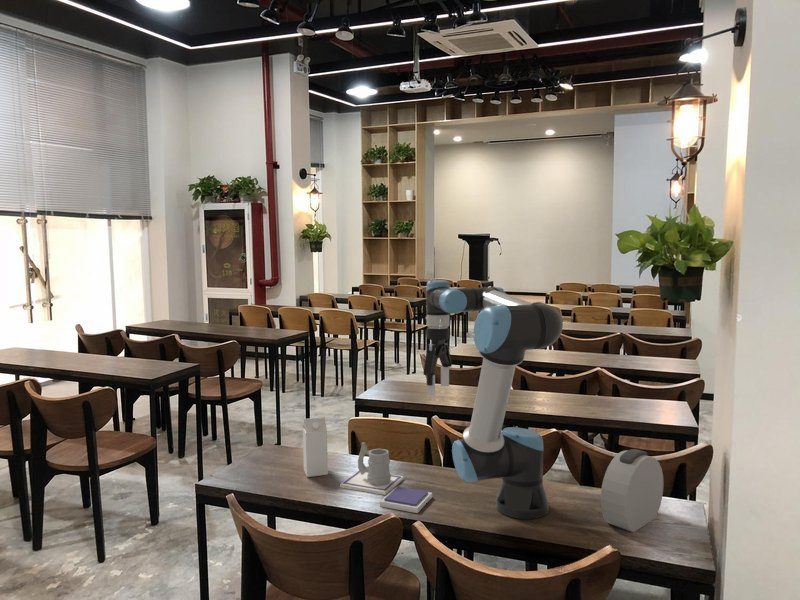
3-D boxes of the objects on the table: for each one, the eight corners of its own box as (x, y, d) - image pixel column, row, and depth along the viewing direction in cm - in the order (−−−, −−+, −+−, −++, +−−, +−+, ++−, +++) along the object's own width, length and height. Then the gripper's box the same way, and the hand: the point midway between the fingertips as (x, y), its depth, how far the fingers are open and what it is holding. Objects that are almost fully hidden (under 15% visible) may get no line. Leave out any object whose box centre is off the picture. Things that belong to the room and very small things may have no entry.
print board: (403, 479, 202) (403, 475, 202) (385, 495, 189) (385, 491, 189) (360, 472, 209) (360, 468, 208) (340, 487, 196) (339, 483, 196)
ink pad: (432, 497, 187) (432, 490, 187) (417, 513, 176) (417, 506, 176) (396, 491, 192) (396, 484, 192) (379, 506, 181) (379, 499, 181)
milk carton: (303, 470, 211) (302, 416, 209) (324, 467, 213) (323, 414, 211) (306, 477, 204) (305, 422, 203) (327, 475, 206) (326, 420, 205)
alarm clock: (638, 505, 181) (639, 439, 179) (662, 513, 175) (665, 446, 173) (599, 527, 167) (601, 456, 165) (625, 537, 161) (627, 464, 159)
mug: (383, 487, 193) (383, 450, 192) (352, 481, 198) (351, 445, 197) (395, 479, 199) (395, 443, 198) (364, 473, 205) (364, 438, 204)
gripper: (440, 322, 215) (440, 381, 217) (412, 331, 192) (413, 397, 194) (460, 323, 212) (460, 383, 214) (435, 332, 189) (435, 400, 191)
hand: (438, 390), depth 204 cm, fingers open, 13 cm apart
